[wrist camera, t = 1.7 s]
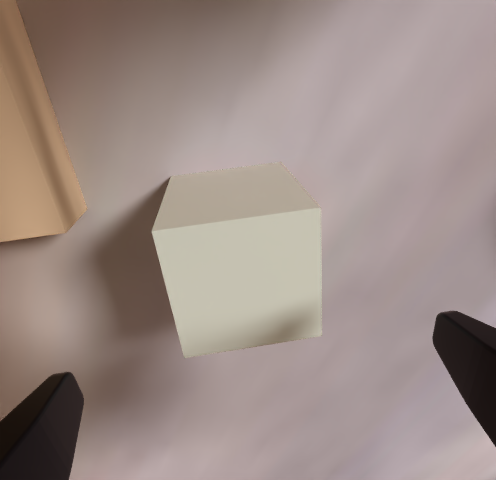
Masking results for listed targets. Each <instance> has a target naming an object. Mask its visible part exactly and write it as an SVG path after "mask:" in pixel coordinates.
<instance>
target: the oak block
mask: <svg viewBox="0 0 496 480" xmlns="http://www.w3.org/2000/svg"><path fill="white" fill-rule="evenodd" d="M86 210H87V207H86V204H85V201H84V198H83V195H82V192H81V189H80V186H79V183H78V180H77V177H76V175H75V172H74V169H73V166H72V163H71V160H70V157H69V154H68V151H67V148H66V145H65V143H64V140H63V137H62V134H61V131H60V128H59V125H58V122H57V119H56V116H55V113H54V110H53V108H52V105H51V102H50V99H49V96H48V93H47V90H46V87H45V84H44V81H43V78H42V76H41V73H40V70H39V67H38V64H37V61H36V58H35V55H34V52H33V49H32V46H31V44H30V41H29V38H28V35H27V32H26V29H25V26H24V23H23V20H22V17H21V14H20V12H19V9H18V6H17V3H16V0H0V242H5V241H12V240H19V239H26V238H33V237H40V236H47V235H54V234H61V233H66V232H67V231H68V230H69V229H70V228H71V227H72V226H73V225H74V223H75V222H76V221H77V220H78V219H79V218H80V217H81V216H82V215H83V213H84V212H85V211H86Z"/></svg>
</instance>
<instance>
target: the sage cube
mask: <svg viewBox="0 0 496 480" xmlns="http://www.w3.org/2000/svg"><path fill="white" fill-rule="evenodd" d="M152 235H153V239H154V243H155V246H156V250H157V254H158V258H159V262H160V266H161V270H162V274H163V278H164V281H165V285H166V289H167V293H168V297H169V301H170V305H171V309H172V313H173V316H174V320H175V324H176V328H177V332H178V336H179V340H180V344H181V348H182V351H183V355H184V358H189V357H195V356H201V355H207V354H213V353H220V352H226V351H232V350H238V349H244V348H251V347H257V346H263V345H269V344H275V343H282V342H288V341H294V340H300V339H306V338H313V337H319V336H322V273H321V207H320V206H319V205H318V203H317V202H316V201H315V200H314V199H313V198H312V197H311V195H310V194H309V193H308V192H307V191H306V190H305V189H304V187H303V186H302V185H301V184H300V183H299V182H298V181H297V179H296V178H295V177H294V176H293V175H292V174H291V173H290V171H289V170H288V169H287V168H286V167H285V166H284V165H283V163H282V162H275V163H268V164H260V165H253V166H245V167H238V168H230V169H222V170H215V171H207V172H200V173H192V174H184V175H177V176H171V178H170V180H169V183H168V186H167V189H166V192H165V195H164V197H163V200H162V203H161V206H160V209H159V212H158V214H157V217H156V220H155V223H154V226H153V229H152Z"/></svg>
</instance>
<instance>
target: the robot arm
mask: <svg viewBox="0 0 496 480" xmlns="http://www.w3.org/2000/svg"><path fill="white" fill-rule="evenodd" d="M433 344H434V347H435V349H436V351H437V352H438V354H439V356H440V358H441V360H442V361H443V363H444V365H445V367H446V369H447V370H448V372H449V374H450V376H451V378H452V379H453V381H454V383H455V385H456V387H457V388H458V390H459V392H460V394H461V395H462V397H463V399H464V401H465V402H466V404H467V405H468V407H469V408H470V410H471V412H472V413H473V415H474V416H475V417H476V419H477V420H478V422H479V423H480V425H481V426H482V428H483V429H484V431H485V432H486V433H487V435H488V436H489V438H490V439H491V441H492V442H493V444H494V445H495V447H496V328H494V327H492V326H490V325H487V324H485V323H483V322H481V321H478V320H476V319H474V318H471V317H469V316H467V315H465V314H462V313H460V312H458V311H447V312H441V313H439V314H438V315H437V317H436V321H435V327H434V332H433ZM83 405H84V398H83V394H82V392H81V390H80V388H79V386H78V383H77V381H76V379H75V377H74V375H73V374H72V373H70V372H64V373H58V374H53V375H51V376H50V377H49V378H47V379H46V380H45V381H44V382H43V383H42V384H41V385H40V386H39V387H38V388H36V389H35V390H34V391H33V392H32V393H31V394H30V395H29V396H28V397H27V398H25V399H24V400H23V401H22V402H21V403H20V404H19V405H18V406H17V407H16V408H14V409H13V410H12V411H11V412H10V413H9V414H8V415H7V416H6V417H5V418H3V419H2V420H1V421H0V480H69V477H70V473H71V468H72V463H73V458H74V453H75V448H76V442H77V437H78V432H79V426H80V421H81V416H82V410H83Z"/></svg>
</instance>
